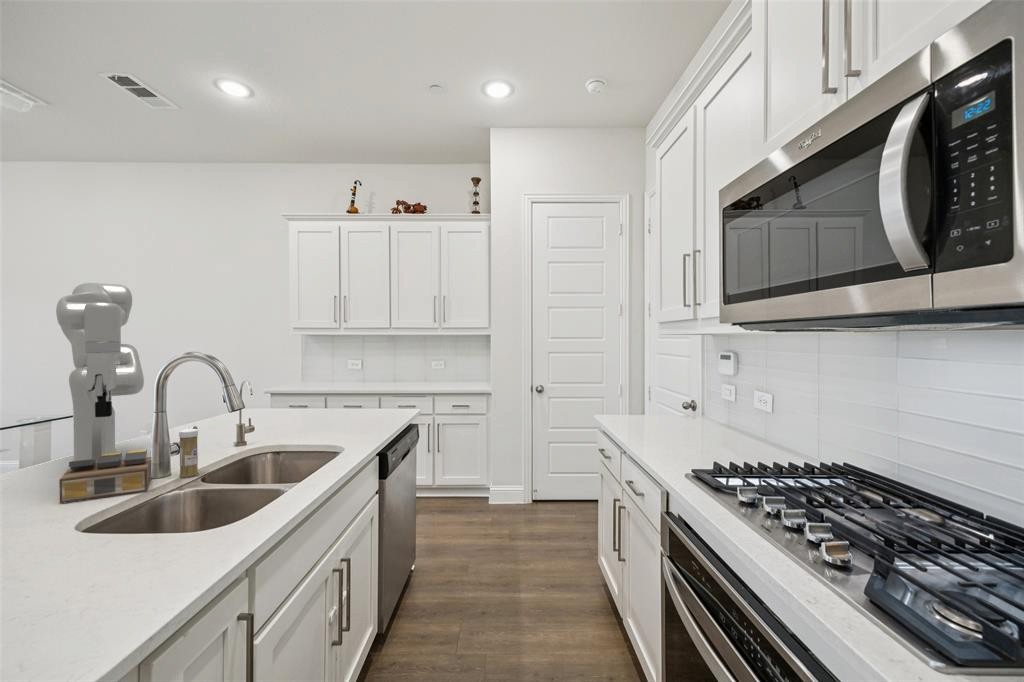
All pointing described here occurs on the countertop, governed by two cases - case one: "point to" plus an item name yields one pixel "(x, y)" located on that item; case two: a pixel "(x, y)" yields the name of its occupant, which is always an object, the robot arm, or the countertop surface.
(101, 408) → the robot arm
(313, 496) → the countertop surface
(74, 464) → the rocker
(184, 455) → the sprinkles bottle
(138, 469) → the switch unit
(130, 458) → the rocker
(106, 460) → the rocker
